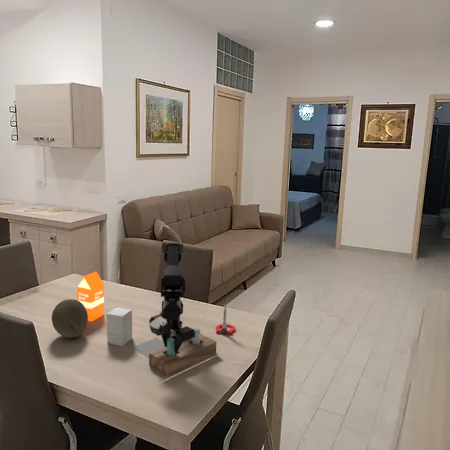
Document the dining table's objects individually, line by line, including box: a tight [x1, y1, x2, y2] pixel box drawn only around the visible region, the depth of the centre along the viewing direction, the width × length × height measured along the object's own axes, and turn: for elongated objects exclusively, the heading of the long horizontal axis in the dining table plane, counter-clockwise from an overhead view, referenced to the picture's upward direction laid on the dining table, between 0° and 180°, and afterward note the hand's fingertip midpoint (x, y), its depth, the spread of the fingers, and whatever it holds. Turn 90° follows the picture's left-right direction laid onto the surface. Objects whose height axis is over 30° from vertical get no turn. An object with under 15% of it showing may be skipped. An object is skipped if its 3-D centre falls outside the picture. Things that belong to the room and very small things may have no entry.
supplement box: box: [106, 306, 133, 347], centre depth 168 cm, size 7×7×13 cm
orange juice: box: [76, 271, 105, 322], centre depth 189 cm, size 8×9×20 cm
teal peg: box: [167, 337, 175, 357], centre depth 152 cm, size 3×3×10 cm
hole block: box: [148, 333, 217, 377], centre depth 156 cm, size 10×24×5 cm, turn 137°
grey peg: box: [192, 327, 201, 346], centre depth 160 cm, size 3×3×10 cm
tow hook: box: [215, 304, 236, 335], centre depth 182 cm, size 8×13×9 cm
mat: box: [131, 337, 165, 359], centre depth 164 cm, size 12×12×1 cm
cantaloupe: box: [51, 299, 89, 339], centre depth 170 cm, size 14×14×15 cm
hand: (171, 349), depth 151 cm, fingers open, 5 cm apart
